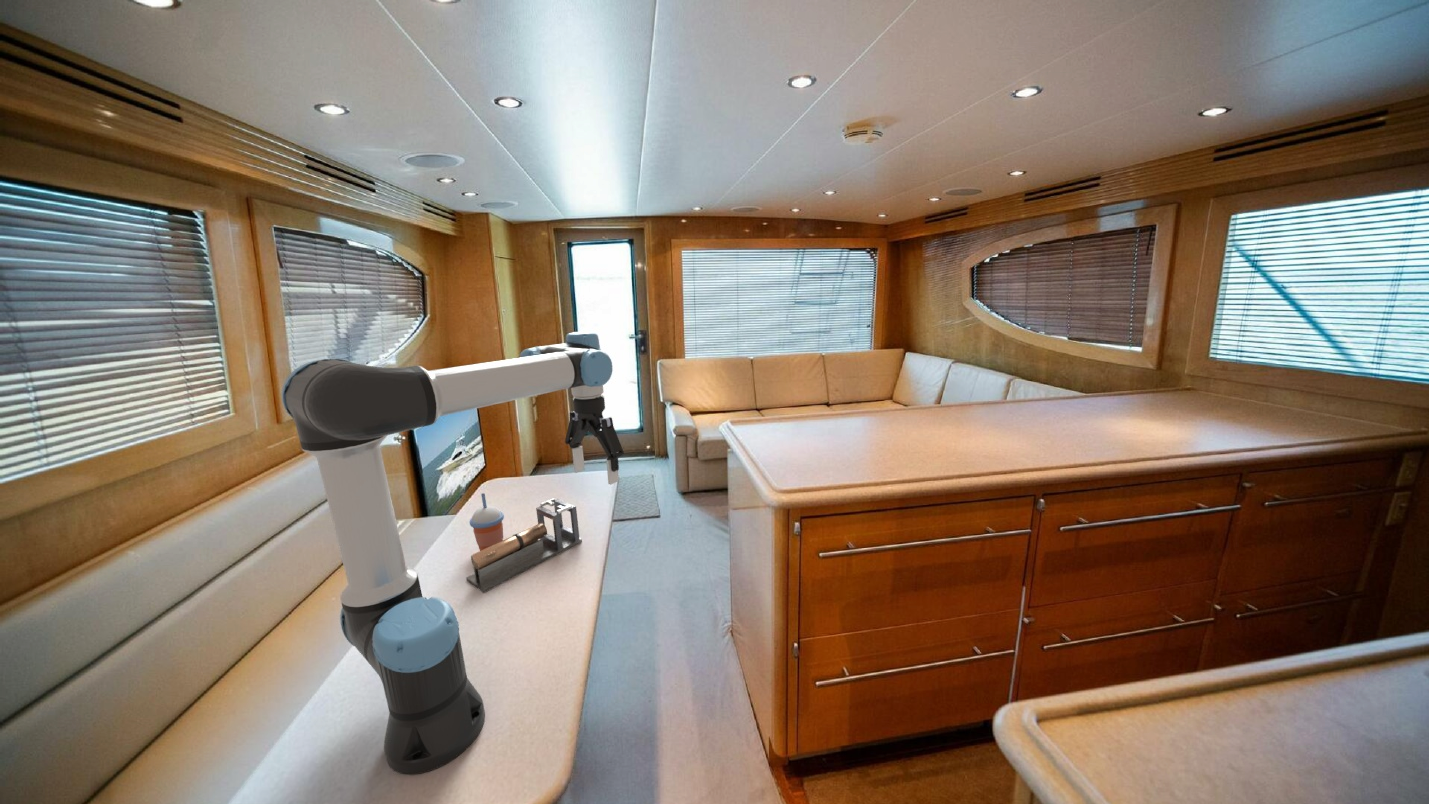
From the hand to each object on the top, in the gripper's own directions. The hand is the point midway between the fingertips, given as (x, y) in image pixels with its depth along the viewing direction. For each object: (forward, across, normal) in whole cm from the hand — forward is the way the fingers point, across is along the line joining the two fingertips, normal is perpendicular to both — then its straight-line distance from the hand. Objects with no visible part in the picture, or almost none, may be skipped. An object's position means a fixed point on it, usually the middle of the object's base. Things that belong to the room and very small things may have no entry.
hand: (596, 476), depth 124 cm
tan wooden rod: (+21, +23, +13) cm, 34 cm away
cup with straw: (+28, +37, +12) cm, 48 cm away
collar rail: (+28, +23, +9) cm, 37 cm away
